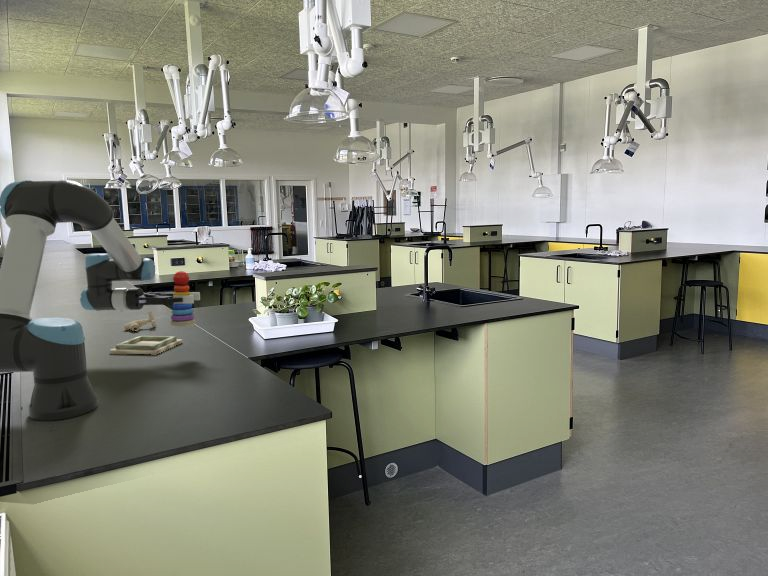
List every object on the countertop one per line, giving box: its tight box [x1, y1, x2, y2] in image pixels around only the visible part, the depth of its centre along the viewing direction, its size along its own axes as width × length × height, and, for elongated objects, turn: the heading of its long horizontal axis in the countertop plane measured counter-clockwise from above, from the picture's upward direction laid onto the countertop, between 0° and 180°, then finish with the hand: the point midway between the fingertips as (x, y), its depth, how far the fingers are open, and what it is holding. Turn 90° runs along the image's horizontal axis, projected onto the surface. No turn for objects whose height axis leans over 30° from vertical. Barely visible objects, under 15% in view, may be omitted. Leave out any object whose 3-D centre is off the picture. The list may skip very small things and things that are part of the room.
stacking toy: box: [170, 270, 196, 328], centre depth 191 cm, size 8×8×19 cm
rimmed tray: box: [108, 335, 183, 356], centre depth 205 cm, size 18×18×3 cm
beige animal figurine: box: [123, 310, 157, 332], centre depth 240 cm, size 8×12×10 cm
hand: (196, 297), depth 191 cm, fingers closed on stacking toy, 6 cm apart
